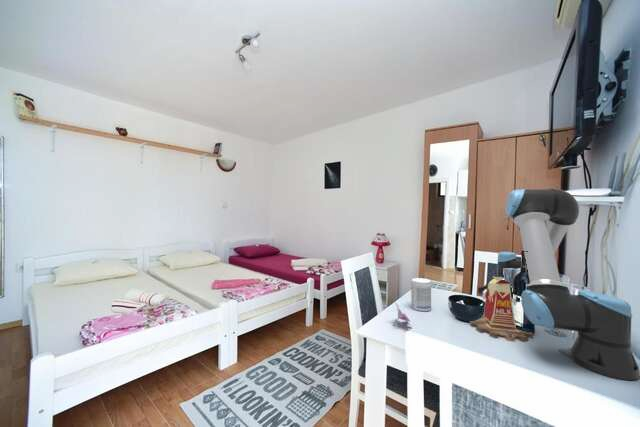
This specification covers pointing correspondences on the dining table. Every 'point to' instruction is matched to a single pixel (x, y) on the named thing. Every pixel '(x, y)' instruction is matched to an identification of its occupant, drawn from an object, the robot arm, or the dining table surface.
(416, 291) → the supplement tub
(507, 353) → the dining table surface
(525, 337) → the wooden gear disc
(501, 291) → the milk carton
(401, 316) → the lily
